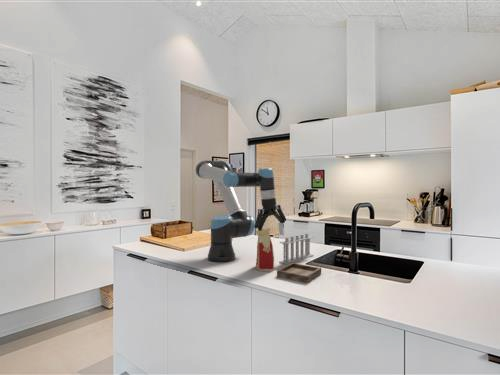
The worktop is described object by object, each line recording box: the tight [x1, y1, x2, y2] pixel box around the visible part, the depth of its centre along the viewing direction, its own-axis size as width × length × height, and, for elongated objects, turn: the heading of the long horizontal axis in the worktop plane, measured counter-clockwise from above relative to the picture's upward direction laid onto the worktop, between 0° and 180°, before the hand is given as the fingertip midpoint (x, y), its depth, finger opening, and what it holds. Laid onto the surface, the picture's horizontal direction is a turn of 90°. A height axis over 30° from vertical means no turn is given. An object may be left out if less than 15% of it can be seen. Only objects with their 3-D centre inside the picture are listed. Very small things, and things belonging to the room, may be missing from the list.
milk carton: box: [254, 227, 275, 272], centre depth 146 cm, size 9×9×20 cm
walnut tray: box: [276, 262, 322, 284], centre depth 135 cm, size 15×15×3 cm
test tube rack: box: [278, 232, 314, 265], centre depth 162 cm, size 25×4×13 cm, turn 134°
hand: (272, 237), depth 155 cm, fingers open, 13 cm apart
